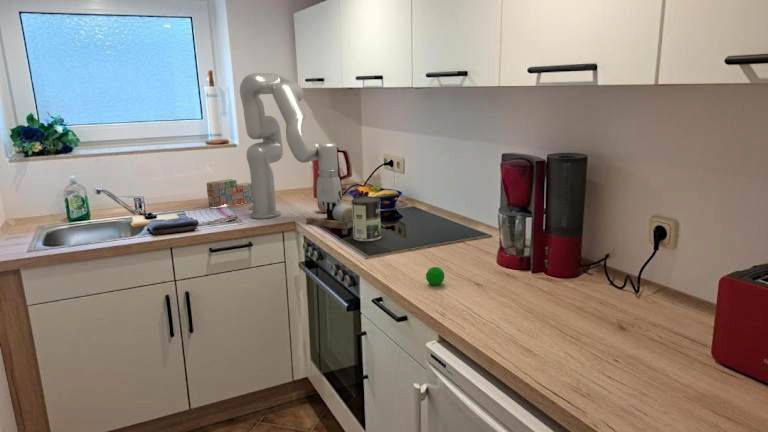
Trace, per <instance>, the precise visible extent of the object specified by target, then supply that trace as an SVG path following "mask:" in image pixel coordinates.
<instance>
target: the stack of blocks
mask: <svg viewBox="0 0 768 432" xmlns="http://www.w3.org/2000/svg"><path fill="white" fill-rule="evenodd" d="M206 192H207V193H206V194H207V199H208V207H218V206H221V205H224V204H227V205H230V206H231V205H236V204H241V203H247V202H252V203H253V196H252V184H251V182H240V183H237V179H232V178H227V179H221V180H216V181H209V182H206ZM247 204H248V203H247ZM241 205H242V204H241ZM236 206H237V205H236ZM231 207H232V206H231Z"/></svg>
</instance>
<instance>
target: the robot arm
mask: <svg viewBox="0 0 768 432" xmlns="http://www.w3.org/2000/svg"><path fill="white" fill-rule="evenodd" d="M240 82H241V83H240V86H239V95H240V99H241V104H242V109H243V117H244V123H245V124H244V125H245V129H246V133H247V134H246V135H247V136H248V137H249V138H250V139H252V140H262V141H260V142H255V143H253V144H251V145H250V146H249V147H248V148H247V150H246V161H247V164H248V167H249V168H248V169H249V173H250V181H251V182H250V183H251V184H252V196H253V202H252V204H251V205H250V206H249V207H248V210H249V211H252V212H251V213H250V214H249V215H250V218H252V219H257V220H263V219H264V220H265V219H274V218H277V217H279V216H280V215H281V211H279V210H277V204H276V203H277V202H276V191H275V190H276V189H275V178H274V173H273V172H274V171H273V169H272V167H271V165H270V164H273V163H277V162H279V161H281V159H282V157H283V155H284V148H283V146H284V145H283V139H282V133H281V127H280V123H279V121H278V120H277V119H276V118H275V117H273V116H271V115H266V113H265V112H266V111H265V106H264V103H263V100H262V99H261V98H260V97H261V95H272V97H273V100H274V102H275V104H276V106H277V107H278V109H279V111H280V113H281V116H282V118H283V120H284V122H285V124H286V125H285V135H286V137H285V139H286V142H287V145H288V147H289V150H290V152H291V153H292V155H293V158H295V160H296V161H298V162H300V163H304V164H305V163H309V162H315V161H317V160H318V170H317V174H318V175H319V176H318V177H317V181H316V199H317V202H318V201H319V203H321V204H323V205H324V206H325V209H326V211H327V213H326V220H333V219H334V218H333V214H332V212H333V209H334V207H335V206H336V205H340V204H341V203H342V199H343V191H342V190H343V189H342V185H341V184H342V183H341V179H340V177H339V167H338V166H339V165H338V147H337V144H336V143H334V142H320V141H310V142H306V141H305V139H304V137H303V134H302V131H301V130H302V128H301V127H302V123H303V122H304V120H305V119H306V113H305V112H304V109H303V107H302V105H301V101H302V100H303V98H304V90H303V88H302V86H301V85H300V84H298V83H297V82H295V81H293V80H291V79H289V78H286V77H284V76H281V75H279V74H276V73H269V72H267V73H265V72H255V73H249V74H248V75H246V76H245V77H244V78H243V79H242V81H240Z"/></svg>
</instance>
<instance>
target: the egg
mask: <svg viewBox="0 0 768 432" xmlns="http://www.w3.org/2000/svg"><path fill="white" fill-rule="evenodd" d="M317 208H318V209H319V210H320V211H321V212H322V213H324V214H325V213H326V214H327V211H326V209H325V206H324V205H323V204H321V203H319V201H318V200H317Z"/></svg>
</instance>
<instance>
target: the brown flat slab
mask: <svg viewBox="0 0 768 432" xmlns="http://www.w3.org/2000/svg"><path fill="white" fill-rule="evenodd" d="M305 224H307V225H311V226H318V227H325V228H332V229H341V230H349V229H351V228H353V218H352V219H349V220H346V221H343V222H340V221H336V220H333V219H325V218H323V219H322V218H315V217H308V216H307V217H305Z"/></svg>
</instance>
